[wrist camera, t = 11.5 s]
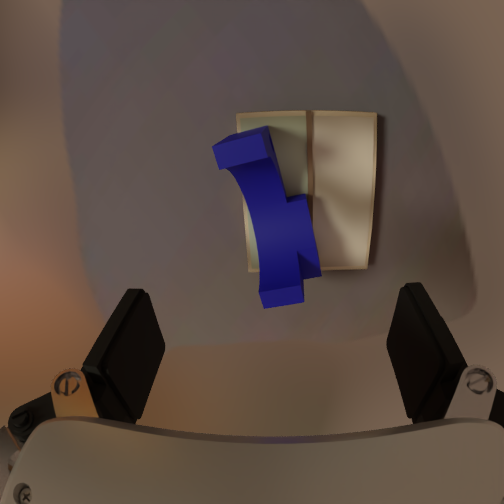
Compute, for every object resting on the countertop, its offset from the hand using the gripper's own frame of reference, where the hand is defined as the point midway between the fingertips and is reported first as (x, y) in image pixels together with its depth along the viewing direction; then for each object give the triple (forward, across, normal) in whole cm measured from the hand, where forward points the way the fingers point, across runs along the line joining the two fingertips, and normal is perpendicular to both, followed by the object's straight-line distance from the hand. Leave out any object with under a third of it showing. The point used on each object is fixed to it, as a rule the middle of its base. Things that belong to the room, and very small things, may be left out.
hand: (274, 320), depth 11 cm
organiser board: (+17, -3, +1) cm, 17 cm away
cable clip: (+16, 0, +1) cm, 16 cm away
